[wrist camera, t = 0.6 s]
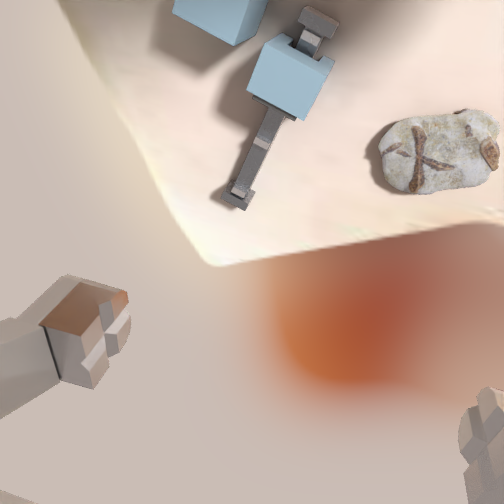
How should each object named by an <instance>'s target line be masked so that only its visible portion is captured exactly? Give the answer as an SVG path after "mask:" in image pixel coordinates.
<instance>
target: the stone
mask: <svg viewBox="0 0 504 504" xmlns="http://www.w3.org/2000/svg"><path fill="white" fill-rule="evenodd" d="M499 131H500V126H499V123H498V122H497V121H496V120H495V119H494V118H493V117H492V116H491V115H490V114H488V113H486V112H484V111H481V110H470V109H463V110H461V113H460V114H444V115H433V116H417V117H412V118H407V119H403V120H401V121H399V122H397V123H395V124H394V125H393V126H392V127H391V128H390V129H389V130H388V131H387V133H386V134H385V135H384V136H383V137H382V139H381V141H380V143H379V145H378V149H379V151H380V156H381V158H382V161H383V173H384V176H385V179H386V181H387V182H388V183H389V184H390V185H391V186H393V187H394V188H396V189H398V190H401V191H404V192H408V193H410V194H418V195H421V194H432V193H434V192H436V191H440V190H445V189H459V188H465V187H475V186H478V185H480V184H482V183H484V182H486V181H487V180H488V178H489V175H490V172H491V171H495V170H496V169H497V168H498V162H499V160H498V159H499V156H500V151H499V147H498V145H497V142H496V138H497V135H498V134H499Z"/></svg>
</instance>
